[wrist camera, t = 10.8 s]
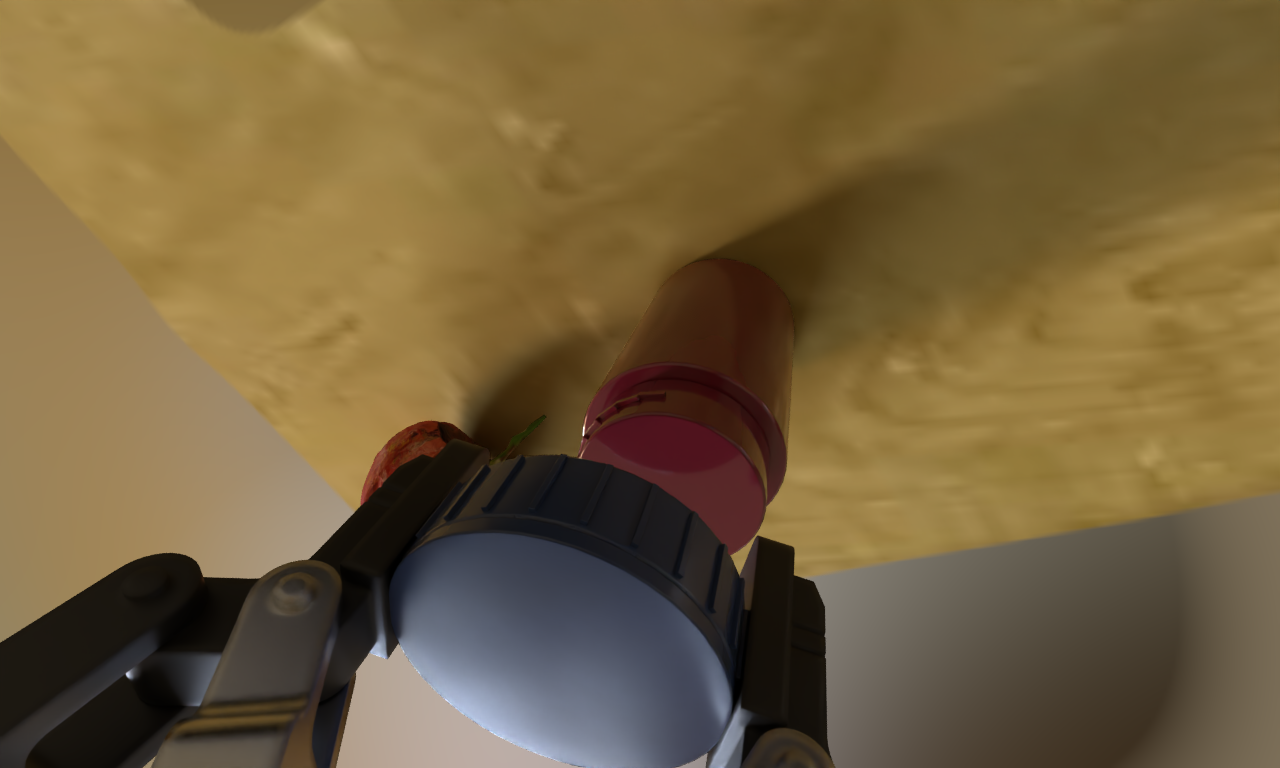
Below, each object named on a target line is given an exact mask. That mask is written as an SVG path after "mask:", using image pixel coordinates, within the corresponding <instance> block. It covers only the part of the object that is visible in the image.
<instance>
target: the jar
mask: <svg viewBox="0 0 1280 768" xmlns="http://www.w3.org/2000/svg"><path fill="white" fill-rule="evenodd" d="M794 332H795V326H794V317H793V312H792V309H791V306H790V303H789V301H788V299H787V297H786V296H785V294H784V292H783V291H782V290H781V288H780V287H779V286H778V285H777V284H776V283H775V281H774V280H773V279H772V278H770V277H769V276H768V275H766V274H765V273H764V272H762V271H761V270H759V269H757V268H756V267H753V266H751V265H749V264H746V263H743V262H740V261H736V260H730V259H707V260H702V261H698V262H695V263H692V264H689V265H687V266H685V267H683V268H681V269H679V270H678V271H677V272H675V273H674V274H672V275H671V276H670V277H669V278H668V279H667V280H666V281H665V282H664V283H663V285H662V286H661V287H660V289H659V290H658V292H657V293H656V295H655V297H654V298H653V300H652V302H651V303H650V305H649V307H648V308H647V310H646V312H645V313H644V315H643V316H642V318H641V320H640V321H639V323H638V325H637V326H636V328H635V330H634V331H633V333H632V335H631V336H630V338H629V339H628V341H627V343H626V344H625V346H624V348H623V349H622V351H621V353H620V354H619V356H618V358H617V359H616V361H615V363H614V364H613V366H612V367H611V369H610V371H609V372H608V374H607V376H606V377H605V379H604V381H603V382H602V384H601V386H600V387H599V389H598V390H597V392H596V394H595V395H594V397H593V399H592V401H591V402H590V404H589V406H588V409H587V411H586V414H585V417H584V422H583V434H582V442H581V446H580V450H579V453H578V456H577V458H583V459H589V460H593V461H596V462H601V463H606V464H611V465H614V467H617V468H619V469H622V470H624V471H627V472H630V473H632V474H635V475H637V476H639V477H641V478H643V479H645V480H647V481H649V482H651V483H655V484H657V485H658V486H660V488H662V489H664V490H665V491H666V492H668V493H669V494H671V495H672V496H674V497H676V498H677V499H678V500H679V501H681V502H682V503H683V504H685V505H686V506H687V507H688V508H690V509H691V510H692V511H695V512H697V513H698V514H699V517H700V518H701V519H702V520H703V521H704V522H705V523H706V524H707V525H708V526H709V527H710V529H711V530H712V531H713V532H714V533H715V535H716V536H717V537H718V538H719V540H720V541H721V542H722V544H724V543H725V544H726V545H727V547H728V553H729V555H732V554H734V553H736V552H737V551H739V550H740V549H742V548H743V547H744V546H746V545H747V544H748V543H749V542H750V540H751V539H752V538H753V537H754V536H755V534H756V533H757V532H758V530H759V529H760V526H761V524H762V522H763V520H764V516H765V512H766V506H767V505H768V504H769V503H770V502H771V501H772V500H773V499H774V497H775V496H776V494H777V493H778V491H779V489H780V487H781V485H782V483H783V480H784V476H785V473H786V467H787V454H788V437H789V420H790V402H791V385H792V367H793V350H794Z"/></svg>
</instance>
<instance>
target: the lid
mask: <svg viewBox="0 0 1280 768" xmlns="http://www.w3.org/2000/svg"><path fill="white" fill-rule="evenodd" d="M415 536H416V537H418V538H417V539H416V540H415V541H414V543H413V544H412V545H411V547H410V548H409V549H408V550H407V552H406V553H405V554H404V555H403V557H402V561H401V562H400V563H399V565H398V566H397V568H396V570H395V572H394V574H393V576H392V578H391V581H390V586H389V603H390V614H391V624H392V628H393V631H394V634H395V637H396V639H397V641H398V643H399V645H400V647H401V649H402V650H403V652H404V653H405V655H406V657H407V658H408V660H409V661H410V663H411V664H412V665H413V667H414V668H415V669H416V670H417V672H418V673H419V674H420V675H421V677H422V678H423V679H424V680H425V681H426V682H427V683H428V684H429V685H430V686H431V687H432V688H433V689H434V690H435V691H436V692H437V693H438V694H439V695H440V696H441V697H443V698H444V699H445V700H446V701H447V702H448V703H449V704H451V705H452V706H453V707H454V708H456V709H457V710H458V711H460V712H461V713H462V714H464V715H465V716H467V717H468V718H470V719H471V720H472V721H474V722H475V723H477V724H479V725H480V726H481V727H483V728H485V729H487V730H488V731H490V732H492V733H493V734H495V735H497V736H499V737H501V738H503V739H505V740H507V741H509V742H511V743H513V744H515V745H517V746H519V747H522V748H524V749H526V750H529V751H531V752H533V753H536V754H539V755H542V756H545V757H547V758H550V759H553V760H556V761H560V762H563V763H567V764H570V765H574V766H579V767H584V768H675V767H679V766H682V765H685V764H687V763H690V762H692V761H695V760H696V759H698V758H700V757H701V756H703V755H705V754H706V753H708V752H709V751H710V750H711V749H712V748H713V747H714V746H715V745H716V744H717V743H718V741H719V739H720V737H721V735H722V733H723V731H724V729H725V727H726V725H727V723H728V721H729V719H730V717H731V714H732V711H733V704H734V696H735V687H736V681H737V682H739V680H740V676H741V667H742V659H743V650H744V641H745V633H746V624H747V616H748V610H745V599H744V588H745V580H744V578H740V576H739V574H738V572H737V569H736V567H735V565H734V562H733V560H732V558H731V556H730V555H729V553H728V547H727V545H726V544H725V543H724V544H722V542H721V541H720V540H719V538H718V537H717V536H716V535H715V533H714V532H713V531H712V530H711V529H710V527H709V526H708V525H707V524H706V523H705V522H704V521H703V520H702V519H701V518H700V517H699V514H698V513H697V512H695V511H692V510H691V509H690V508H688V507H687V506H686V505H685V504H683V503H682V502H681V501H679V500H678V499H677V498H676V497H674V496H672V495H671V494H669V493H668V492H666V491H665V490H664V489H662V488H660V486H658V485H657V484H655V483H651V482H649V481H647V480H645V479H643V478H641V477H639V476H637V475H635V474H632V473H630V472H627V471H624V470H622V469H619V468H617V467H614V465H611V464H606V463H601V462H596V461H593V460H589V459H583V458H577V457H570V456H567V455H565V454H561V455H535V456H524V455H523V454H522V455H517V457H516V458H514V459H508V460H505V461H502V462H500V463H497V464H494V465H491V466H488V465H487V464H485V465H482V467H481V468H480V469H479V470H478V472H477V473H476V474H474V475H473V476H472V477H470V478H469V479H468V480H467V481H466V482H464V483H463V484H462V483H461V482H458V483H457V484H456V485H455V486H454V488H453V489H452V490H451V491H450V493H449V494H448V495H447V496H446V498H445V499H444V500H443V501H442V503H441V504H440V505H439V506H438V508H437V509H436V510H435V511H434V513H433V514H432V515H431V516H430V518H429V519H428V520H427V521H426V523H425V524H424V525H423V526H422V528H421V529H420V530H419V531H418V533H417V534H416V535H415Z"/></svg>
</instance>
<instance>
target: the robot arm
mask: <svg viewBox="0 0 1280 768" xmlns="http://www.w3.org/2000/svg"><path fill="white" fill-rule="evenodd" d="M489 460H490V454H489V450H488V449H487V448H484V447H481V446H477V445H474V444H471V443H468V442H465V441H462V440H458V439H452V440H451V441H449V442H448V443H447V444H446V446H445V447H444V448H443V449H442V450H441V451H440V452H439V453H438V455H437V456H436V457H435V458H433V457H430V456H427V455H424V454H422V455H420V456H418V457H416V458H414V459H412V460H410V461H408V462H406V463H404V464H403V465H401V466H399V467H398V468H397V469H396V470H395V471H394V472H393V473H392V474H391V475H390V476H389V477H388V478H387V479H386V480H385V481H384V482H383V483H382V486H381V487H379V488H378V489H377V490H376V491H375V492H374V493H373V494H372V495H371V496H370V497H369V499H368V501H367V502H366V501H365V502H364V503H363V504H362V505H361V506H360V507H359V508H358V509H357V510H356V512H355V513H354V514H353V515H352V516H351V517H350V518H349V519H348V520H347V521H346V522H345V523H344V524H343V525H342V526H341V527H340V528H339V529H338V530H337V531H336V532H335V533H334V534H333V535H332V536H331V538H330V539H329V540H328V541H327V542H326V543H325V544H324V545H323V546H322V547H321V548H320V549H319V550H318V551H317V552H316V553H315V554H314V555H313V556H312V557H311V558H310V559H308V560H301V561H295V562H290V563H287V564H284V565H282V566H279V567H277V568H275V569H273V570H271V571H270V572H268V573H267V574H266V575H264V576H263V577H261V578H259V579H243V578H242V579H241V578H212V577H211V578H210V577H203V575H202V573H201V570H200V567H199V565H198V564H197V562H196V561H195V560H193V559H192V558H190V557H188V556H186V555H182V554H177V553H162V554H155V555H150V556H146V557H143V558H140V559H137V560H135V561H133V562H130V563H128V564H126V565H124V566H122V567H121V568H119V569H117V570H116V571H114V572H112V573H111V574H109V575H108V576H106V577H105V578H103V579H101V580H100V581H98V582H97V583H95V584H93V585H92V586H90V587H88V588H87V589H85V590H84V591H82V592H81V593H79V594H77V595H76V596H74V597H73V598H71V599H69V600H68V601H66V602H65V603H63V604H61V605H60V606H58V607H57V608H55V609H53V610H52V611H50V612H49V613H47V614H45V615H44V616H42V617H41V618H39V619H37V620H36V621H34V622H33V623H31V624H29V625H28V626H26V627H25V628H23V629H21V630H20V631H18V632H17V633H15V634H14V635H12V636H11V637H9V638H7V639H6V640H4V641H2V642H1V643H0V768H143V767H144V766H145V765H146V764H147V763H148V762H149V761H150V760H151V759H153V758H154V757H155V756H156V757H155V760H154V762H153V764H152V766H151V768H336V764H337V760H338V756H339V751H340V746H341V742H342V738H343V734H344V729H345V725H346V720H347V715H348V712H349V707H350V703H351V698H352V694H353V689H354V685H355V680H356V670H357V669H358V667H359V666H360V665H361V663H362V662H363V661H364V659H365V658H366V657H367V655H368V654H369V653H371V654H374V655H377V656H380V657H382V658H385V659H388V658H389V657H390V655H391V654H392V652H393V651H394V649H395V648H396V646H397V645H398V641H397V639H396V637H395V634H394V631H393V628H392V624H391V614H390V603H389V586H390V581H391V578H392V576H393V574H394V572H395V570H396V568H397V566H398V565H399V563H400V562H401V561H402V557H403V555H404V554H405V553H406V552H407V550H408V549H409V548H410V547H411V545H412V544H413V543H414V541H415V540H416V539H417V538H418V537H416V536H415V535H416V534H417V533H418V531H419V530H420V529H421V528H422V526H423V525H424V524H425V523H426V521H427V520H428V519H429V518H430V516H431V515H432V514H433V513H434V511H435V510H436V509H437V508H438V506H439V505H440V504H441V503H442V501H443V500H444V499H445V498H446V496H447V495H448V494H449V493H450V491H451V490H452V489H453V488H454V486H455V485H456V484H457V483H458V482H461V483H462V484H463V483H464V482H466V481H467V480H468V479H469V478H470V477H472V476H473V475H474V474H476V473H477V472H478V470H479V469H480V468H481V467H482V465H485V464H487V465H488V466H489ZM794 555H795V552H794V547H792V546H789V545H786V544H783V543H780V542H776V541H773V540H770V539H767V538H764V537H761V536H757V537H756V538H755V540H754V542H753V545H752V547H751V550H750V552H749V555H748V557H747V559H746V562H745V564H744V567H743V569H742V571H741V574H740V578H744V580H745V588H744V599H745V610H748V616H747V624H746V633H745V641H744V650H743V659H742V667H741V676H740V680H739V682H737V681H736V687H735V696H734V704H733V711H732V714H731V717H730V719H729V721H728V723H727V725H726V727H725V729H724V731H723V733H722V735H721V737H720V739H719V741H718V743H717V744H716V745H715V746H714V747H713V748H712V749H711V750H710V751H709V752H708V755H707V762H706V768H835V766H834V764H833V761H832V759H831V756H830V752H829V748H828V741H827V701H826V658H825V653H826V646H825V645H826V643H825V637H824V635H825V606H824V604H823V602H822V599H821V597H820V595H819V592H818V590H817V588H816V585H815V583H814V582H813V581H810V580H807V579H804V578H801V577H798V576H794Z"/></svg>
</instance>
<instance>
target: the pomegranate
mask: <svg viewBox="0 0 1280 768" xmlns="http://www.w3.org/2000/svg"><path fill="white" fill-rule="evenodd" d="M545 418H546V416H545V414H544V415H543V416H541V417H540V418H539V419H537V420H536V421H534V422H533V423H531V424H530V425H529V427H528V428H527V429H526V430H525V431H524V432H522V433H520V434H517V435H515V436H513V437H512V439H511V441H510V443H509V445H508V447H507V448H506V449H505V450H504V451H503V452H502V453H501V454H499V455H498V456H497V457H496V458H495V459H492V460H491V459H490V460H489V466H491V465H494V464H497V463H500V462H502V461H505V459H506V458H507V456H508V455H509V454H510V453H511V452H512V451H513V450H514V449H515V448H516V447H517V446H518V445H519V444H520V443H521V442H522V441H523V440H524V439H525V438H526V437H527V436H528V435H529V434H530V433H531V432H532V431H533V430H534V429H535V428H536V427H537V426H538V425H539V424H540V423H541V422H542V421H543V420H544V419H545ZM452 439H458V440H462V441H465V442H468V443H471V444H474V445H476V444H475V443H474V442H473V441H472V439H470V438H469V437H468V436H467V435H466V434H465V433H464V432H462V431H461V430H460V429H458V428H457V427H456V426H455V425H453V424H451V423H447V422H438V421H424V422H419V423H417V424H415V425H412V426H409V427H407V428H406V429H404V430H402V431H401V432H399V433H397V434H396V435H395V436H394V437H392V438H391V439H390V440H389V441H388V443H387V444H386V445H385V446H384V447H383V448H382V450H381V451H380V452H379V453H378V454H377V456H376V457H375V459H374V462H373V464H372V467H371V469H370V471H369V473H368V476H367V478H366V481H365V484H364V487H363V490H362V495H361V505H362V504H363V503H364V502H365V501H366V502H367V501H368V499H369V497H370V496H371V495H372V494H373V493H374V492H375V491H376V490H377V489H378V488H379V487H381V486H382V483H383V482H384V481H385V480H386V479H387V478H388V477H389V476H390V475H391V474H392V473H393V472H394V471H395V470H396V469H397V468H398V467H399V466H401V465H403V464H404V463H406V462H408V461H410V460H412V459H414V458H416V457H418V456H420V455H422V454H424V455H427V456H430V457H433V458H435V457H436V456H437V455H438V453H439V452H440V451H441V450H442V449H443V448H444V447H445V446H446V444H447V443H448V442H449V441H451V440H452Z"/></svg>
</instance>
